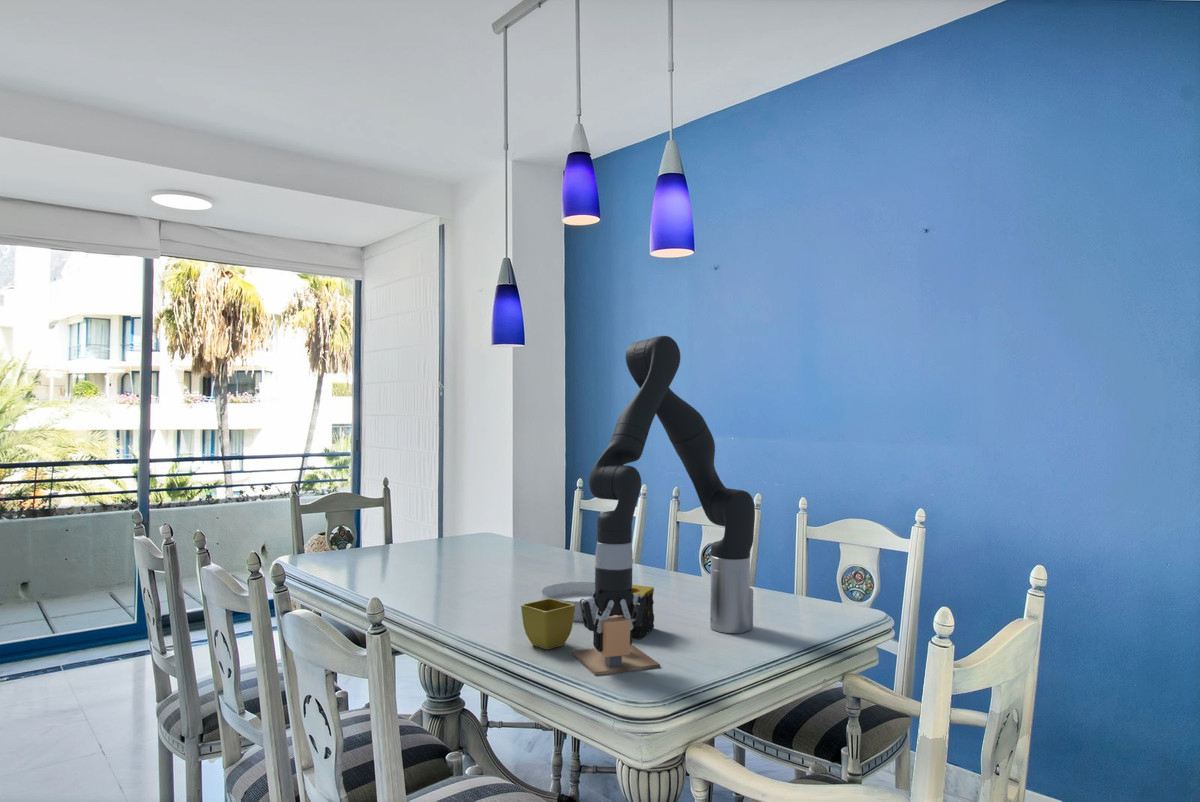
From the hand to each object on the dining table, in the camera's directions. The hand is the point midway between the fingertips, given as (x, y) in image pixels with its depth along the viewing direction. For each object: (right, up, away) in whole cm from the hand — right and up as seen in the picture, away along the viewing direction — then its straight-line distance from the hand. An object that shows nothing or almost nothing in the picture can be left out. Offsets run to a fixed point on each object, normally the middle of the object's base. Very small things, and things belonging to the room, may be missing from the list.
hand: (612, 648), depth 149 cm
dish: (-7, -5, +44) cm, 45 cm away
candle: (+4, -5, +25) cm, 26 cm away
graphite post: (0, -3, 0) cm, 3 cm away
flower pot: (-14, -4, +14) cm, 20 cm away
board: (0, -4, +4) cm, 6 cm away
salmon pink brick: (0, -1, 0) cm, 1 cm away
